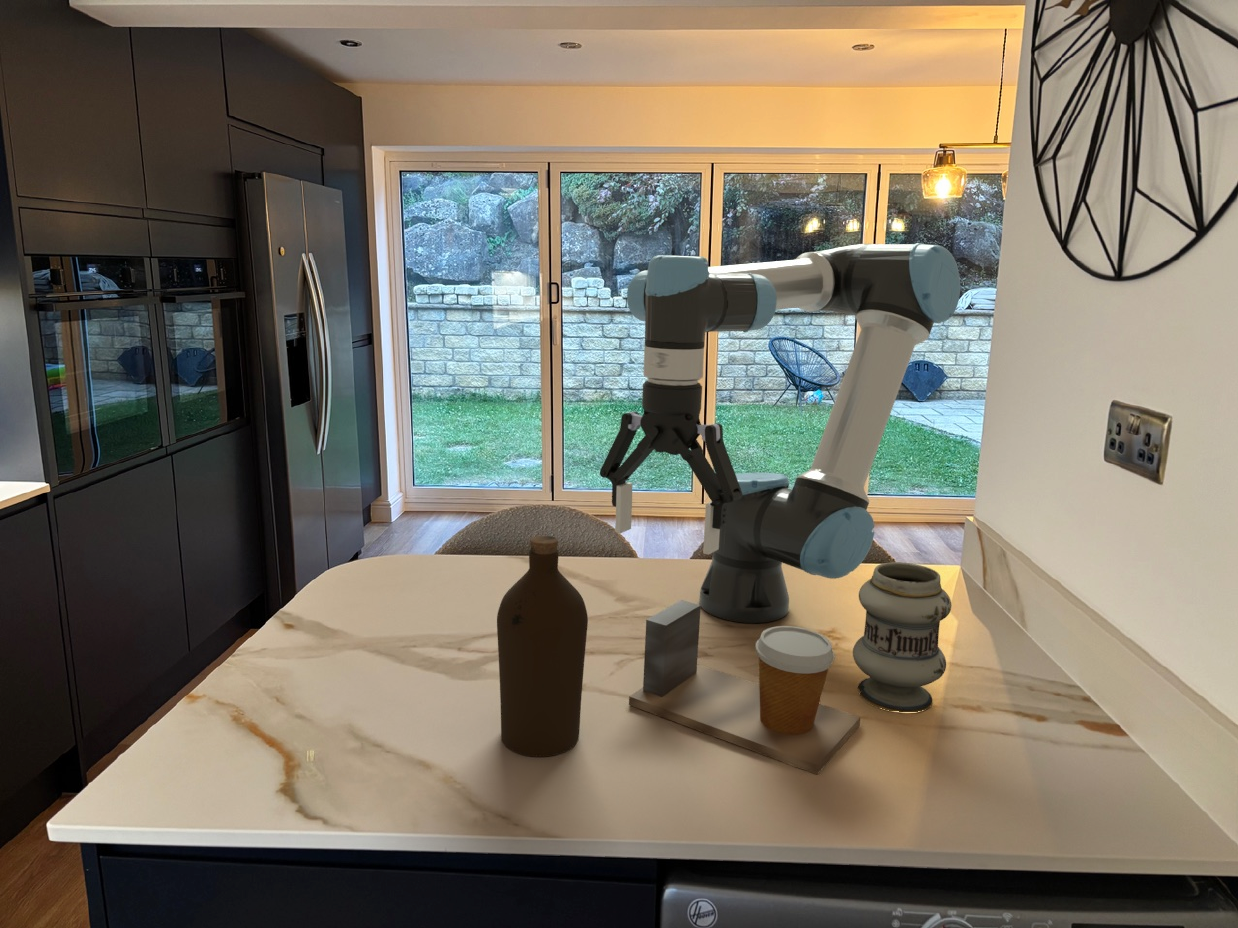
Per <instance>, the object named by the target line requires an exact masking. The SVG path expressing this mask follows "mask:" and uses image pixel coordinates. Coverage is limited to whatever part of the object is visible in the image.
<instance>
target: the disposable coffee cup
mask: <svg viewBox="0 0 1238 928" xmlns="http://www.w3.org/2000/svg"><path fill="white" fill-rule="evenodd" d="M755 651H756V652H757V656H758V674H759V675H758V679H759V681H758V682H759V683H758V684H759V690H760V692H759V693H760V720H761V722H762V724H763V725H764V726H766V727H767V728H768V729H770V730H772V731H775V732H778V733H782V734H788V735H798V734H803V733H806V732H809V731H810V730H811V729H812V727H813V724H814V721H815V717H816V713H817V709H818V706H819V704H820V702H821V697H822V694H823V691H824V687H825V683H826V681H827V679H826V678H827V676H828V672H829V669H830V667H831V665H832V663H833V662H834V660H835V655H836V654H835V653H834V651H833V644H832V643H831V641H830V639H829V638H827V636H825V635H823V634H821V633H819V632H817V631H814V630H812V629H807V628H804V627H800V626H791V625H780V626H779V625H778V626H773V627H768V628H766V629H764V630H763V631H762V632H761V633H760V637H759V639H757V641H755Z"/></svg>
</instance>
